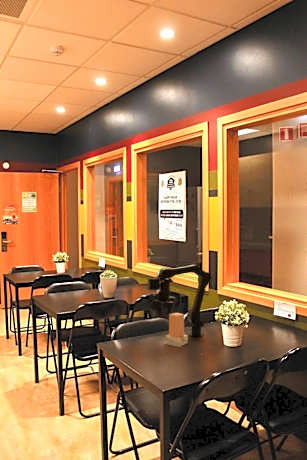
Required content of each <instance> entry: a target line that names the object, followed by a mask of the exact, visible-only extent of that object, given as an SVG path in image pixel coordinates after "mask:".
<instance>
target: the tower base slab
mask: <svg viewBox="0 0 307 460" xmlns="http://www.w3.org/2000/svg"><path fill="white" fill-rule="evenodd" d="M188 340H189V339H188ZM188 340H185V341H183V342H181V343H176V342H172V341H167V340H166V339H165V345H170V346H173V347H178V348H180V347H182V346H184V345H186V344H188Z"/></svg>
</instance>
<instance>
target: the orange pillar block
mask: <svg viewBox="0 0 307 460" xmlns="http://www.w3.org/2000/svg"><path fill="white" fill-rule="evenodd" d="M184 334H185V314H184V313H180V312H173V313H170V314H168V335H170V336H174V337H180V336H183V335H184Z"/></svg>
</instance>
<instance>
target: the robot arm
mask: <svg viewBox="0 0 307 460" xmlns="http://www.w3.org/2000/svg"><path fill="white" fill-rule="evenodd" d="M189 273H194V274H195V275H196V276H197V285H198V286H197V288H196V289H197V290H196V292H195V296H194V301H193V304H192V307H191V309H188V310H187V315H186V316H187V320H188V321H189V322H190V324H191V333H190V334H189V336H191V337H193V338H200V337H203V336H204V333H202V328H203V327H204V322H203V321H202V320H201V317H202V316H201V308H202V304H203V300H204V295H205V291H206V288H207V287H208V285H209V284H210V281H211V279H212V275H211V273H210V272H207V271H205V270H203V269H202V268H201V267H200V266H198V265H197V264H191V265H185V266H180V267H174V268H172V267H162V268H160V270H159V273H158V274H157V275H156V277H155V278H152V277H149V278H148V280H147V283H146V288H147V290H148V291H157V290H158V293H156V294H155V293H154V292H153V293H150V297H149V298H150V299H151V300H152V301H151V306H153V308H155V309H156V312H157V315H158V317H159V318H161V317H162V314H163V311H164V304H166V310H167V315H169V314H171V312H172V310H173V308H174V306H175V304H177V302H178V298H177V296H170V294H171V293H172V291H171V290H170V287H171V286H170V285H171V283H174V280H172V278H173V277H175V276H178V275H182V274H189Z"/></svg>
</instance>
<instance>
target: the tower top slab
mask: <svg viewBox="0 0 307 460" xmlns="http://www.w3.org/2000/svg"><path fill="white" fill-rule="evenodd" d="M188 337H189V335H188V334H185V333H184V335H183V336H180V337H174V336H170V335H169V334H168V335H165V341H166V340H167V341H172V342H176V343H181V342H183V341H185V340H189V339H188Z"/></svg>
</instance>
